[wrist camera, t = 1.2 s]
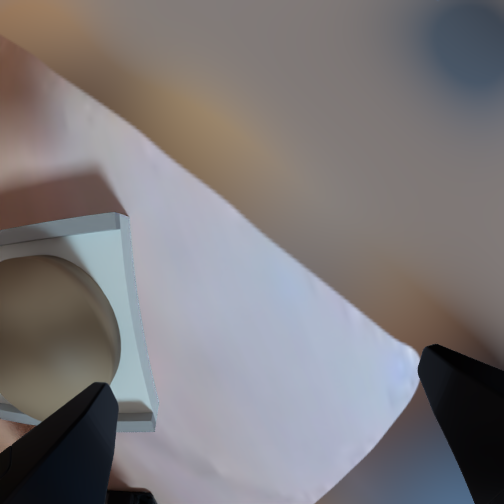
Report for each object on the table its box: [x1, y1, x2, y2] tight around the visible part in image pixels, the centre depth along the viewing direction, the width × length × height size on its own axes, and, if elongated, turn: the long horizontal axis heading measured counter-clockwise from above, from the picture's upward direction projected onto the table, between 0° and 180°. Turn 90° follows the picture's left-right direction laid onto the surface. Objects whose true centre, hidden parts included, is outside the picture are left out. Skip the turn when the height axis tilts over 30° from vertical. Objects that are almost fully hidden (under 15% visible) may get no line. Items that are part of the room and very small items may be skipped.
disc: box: [0, 255, 121, 421], centre depth 15 cm, size 11×11×4 cm
